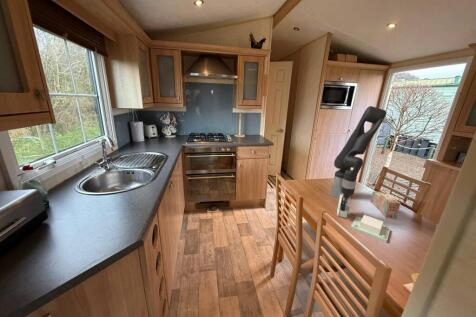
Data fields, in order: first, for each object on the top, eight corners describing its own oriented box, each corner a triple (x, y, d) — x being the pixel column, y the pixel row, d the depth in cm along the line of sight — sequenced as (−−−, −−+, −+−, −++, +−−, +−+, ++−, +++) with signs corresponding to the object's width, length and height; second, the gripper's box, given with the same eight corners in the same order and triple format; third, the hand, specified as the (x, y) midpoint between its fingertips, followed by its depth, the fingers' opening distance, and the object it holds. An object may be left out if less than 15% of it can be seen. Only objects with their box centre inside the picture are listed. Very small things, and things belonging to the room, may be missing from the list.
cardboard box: (370, 201, 148) (373, 187, 144) (379, 202, 147) (383, 188, 143) (385, 218, 128) (390, 202, 124) (396, 219, 127) (401, 202, 123)
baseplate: (350, 228, 117) (352, 220, 116) (356, 218, 127) (357, 211, 125) (386, 242, 106) (388, 234, 104) (389, 230, 115) (392, 222, 114)
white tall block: (345, 213, 132) (349, 195, 128) (347, 218, 127) (351, 199, 122) (336, 212, 134) (340, 193, 129) (337, 216, 128) (341, 197, 124)
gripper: (345, 181, 131) (341, 202, 136) (338, 187, 121) (335, 210, 125) (357, 184, 126) (353, 205, 131) (352, 191, 116) (347, 214, 121)
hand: (344, 208), depth 128 cm, fingers open, 8 cm apart
